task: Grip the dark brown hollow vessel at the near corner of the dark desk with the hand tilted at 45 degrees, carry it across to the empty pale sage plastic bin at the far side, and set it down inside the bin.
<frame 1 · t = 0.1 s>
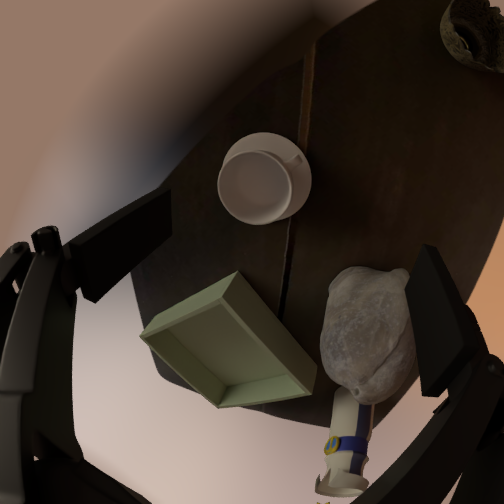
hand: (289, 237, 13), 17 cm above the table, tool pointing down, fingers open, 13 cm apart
white blue vase: (353, 394, 43), on the table
dark brown hollow vessel: (455, 45, 16), on the table
decorative stone: (366, 295, 33), on the table
bin: (231, 342, 45), on the table
teacup: (266, 176, 30), on the table
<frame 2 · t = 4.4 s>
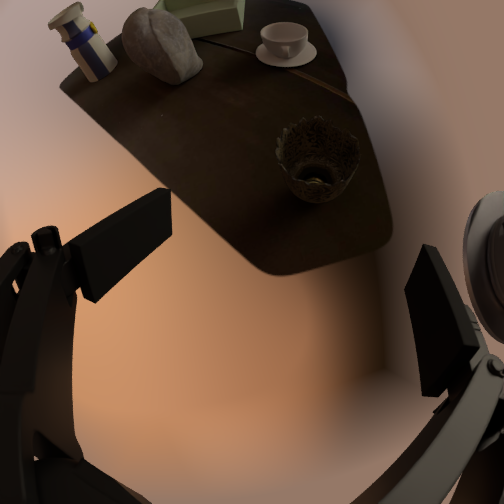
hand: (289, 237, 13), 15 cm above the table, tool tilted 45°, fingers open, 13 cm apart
white blue vase: (103, 70, 45), on the table
dark brown hollow vessel: (314, 191, 30), on the table
decorative stone: (174, 75, 40), on the table
bin: (199, 19, 46), on the table
teacup: (286, 54, 37), on the table
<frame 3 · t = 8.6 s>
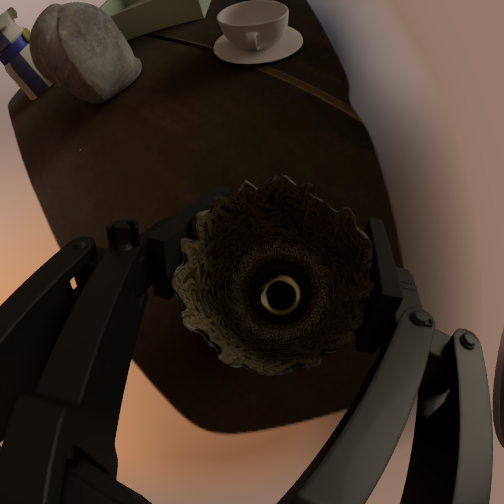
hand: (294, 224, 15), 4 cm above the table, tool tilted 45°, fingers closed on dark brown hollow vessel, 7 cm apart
white blue vase: (46, 83, 33), on the table
dark brown hollow vessel: (281, 296, 18), on the table, touching gripper
decorative stone: (108, 87, 27), on the table
bin: (157, 10, 33), on the table
teacup: (258, 45, 25), on the table
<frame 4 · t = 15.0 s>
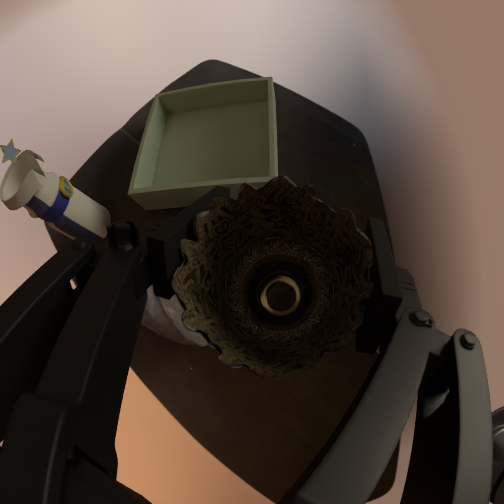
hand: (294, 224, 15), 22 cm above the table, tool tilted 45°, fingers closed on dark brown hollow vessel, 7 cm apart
white blue vase: (94, 225, 43), on the table
dark brown hollow vessel: (281, 297, 18), point 18 cm above the table, touching gripper
decorative stone: (194, 293, 37), on the table
bin: (213, 148, 43), on the table
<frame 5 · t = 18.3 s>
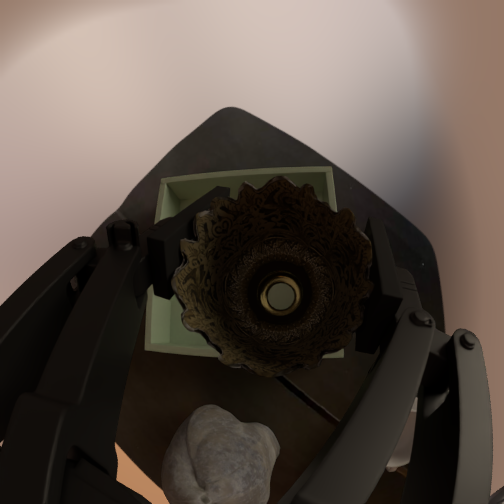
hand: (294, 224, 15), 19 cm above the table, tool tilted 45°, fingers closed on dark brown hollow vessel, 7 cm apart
dark brown hollow vessel: (281, 296, 18), point 15 cm above the table, touching gripper
decorative stone: (238, 447, 29), on the table
bin: (248, 268, 34), on the table
teacup: (390, 428, 26), on the table
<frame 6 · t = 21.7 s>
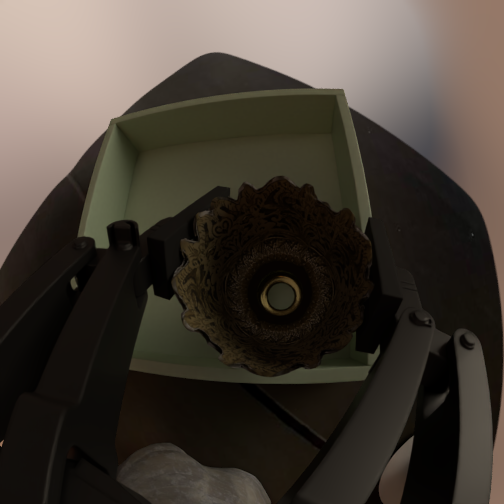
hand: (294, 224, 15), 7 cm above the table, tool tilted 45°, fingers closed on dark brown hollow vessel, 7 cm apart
dark brown hollow vessel: (281, 296, 18), point 3 cm above the table, touching gripper
decorative stone: (210, 496, 17), on the table
bin: (224, 237, 23), on the table
teacup: (428, 467, 15), on the table
when the fingers open (7 cm above the table, at t = 22.1 s): dark brown hollow vessel stays where it is, resting on bin.
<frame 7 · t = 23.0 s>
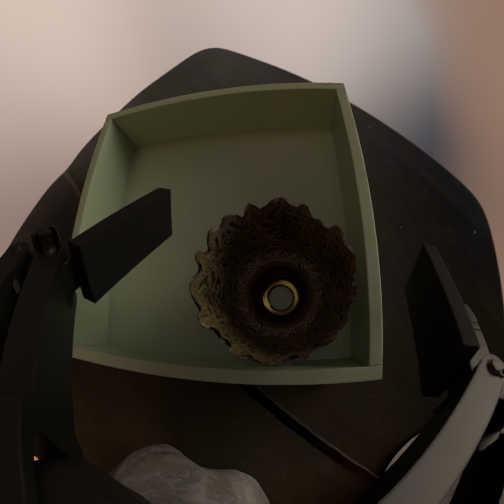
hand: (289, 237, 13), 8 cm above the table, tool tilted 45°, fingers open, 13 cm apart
dark brown hollow vessel: (281, 298, 20), point 1 cm above the table, touching bin
decorative stone: (209, 497, 16), on the table
bin: (221, 234, 22), on the table
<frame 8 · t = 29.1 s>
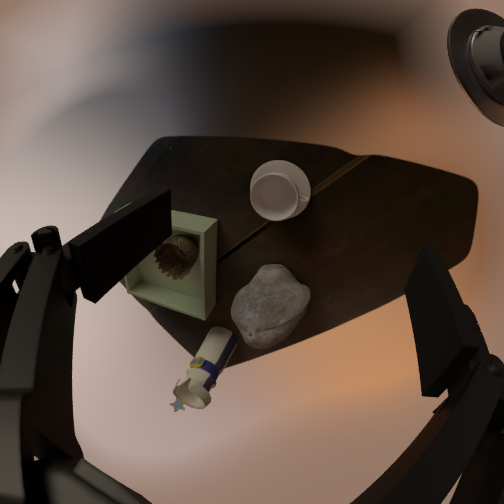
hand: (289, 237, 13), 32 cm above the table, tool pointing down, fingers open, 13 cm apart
white blue vase: (222, 337, 67), on the table
dark brown hollow vessel: (191, 241, 55), point 1 cm above the table, touching bin
decorative stone: (277, 284, 55), on the table
bin: (172, 254, 59), on the table
teacup: (280, 189, 45), on the table
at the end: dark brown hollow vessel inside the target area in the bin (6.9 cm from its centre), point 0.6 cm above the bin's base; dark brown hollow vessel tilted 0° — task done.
